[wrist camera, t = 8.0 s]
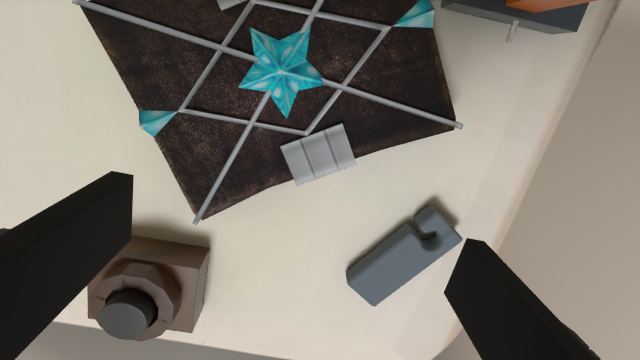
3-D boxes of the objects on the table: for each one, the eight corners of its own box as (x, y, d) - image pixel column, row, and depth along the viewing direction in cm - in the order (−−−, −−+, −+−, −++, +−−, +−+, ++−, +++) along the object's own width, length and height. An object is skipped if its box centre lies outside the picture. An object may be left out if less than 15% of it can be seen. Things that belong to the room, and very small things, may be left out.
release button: (158, 291, 27) (148, 306, 25) (155, 326, 28) (146, 343, 26) (111, 284, 26) (98, 299, 25) (111, 319, 28) (98, 336, 26)
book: (208, 208, 29) (188, 237, 25) (99, 7, 24) (47, -5, 19) (447, 121, 27) (475, 135, 23) (390, -120, 22) (412, -169, 17)
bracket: (344, 271, 32) (346, 284, 30) (430, 202, 30) (438, 211, 28) (370, 294, 33) (374, 309, 31) (455, 229, 31) (464, 240, 29)
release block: (210, 248, 31) (192, 282, 26) (202, 308, 33) (185, 349, 28) (108, 231, 30) (71, 263, 25) (108, 294, 32) (74, 334, 28)
